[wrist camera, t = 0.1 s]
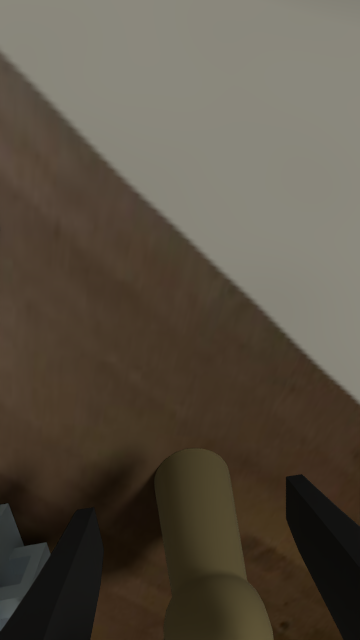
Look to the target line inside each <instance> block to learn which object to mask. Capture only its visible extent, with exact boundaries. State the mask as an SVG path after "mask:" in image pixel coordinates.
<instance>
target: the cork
mask: <svg viewBox="0 0 360 640" xmlns="http://www.w3.org/2000/svg"><path fill="white" fill-rule="evenodd" d="M154 488H155V494H156V500H157V506H158V513H159V519H160V525H161V531H162V537H163V543H164V549H165V555H166V561H167V567H168V573H169V579H170V586H171V592H172V599H171V601H170V603H169V605H168V608H167V610H166V615H165V621H164V640H273V632H272V627H271V624H270V621H269V618H268V615H267V612H266V609H265V606H264V604H263V602H262V600H261V598H260V596H259V594H258V592H257V591H256V590H255V589H254V588H253V587H252V586H251V585H250V583H249V582H247V577H246V571H245V565H244V559H243V553H242V547H241V540H240V534H239V528H238V522H237V516H236V510H235V504H234V498H233V492H232V485H231V479H230V473H229V470H228V467H227V464H226V463H225V462H224V460H223V459H222V458H221V457H220V456H219V455H217V454H215V453H214V452H212V451H210V450H205V449H201V448H193V449H185V450H182V451H179V452H176V453H174V454H172V455H171V456H169V457H168V458H166V459H165V460H164V461H163V463H162V464H161V465H160V466H159V467H158V469H157V472H156V475H155V477H154Z"/></svg>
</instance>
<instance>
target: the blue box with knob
mask: <svg viewBox="0 0 360 640" xmlns="http://www.w3.org/2000/svg"><path fill="white" fill-rule="evenodd" d="M50 555H51V554H50V551H49V548H48V545H47V542H45V543H39V544H34V545H29V546H24V544H23V542H22V539H21V536H20V534H19V531H18V528H17V525H16V523H15V520H14V517H13V515H12V512H11V509H10V507H9V504H8V503H7V504H1V505H0V631H1V630H2V628H3V627H4V625H5V624H6V623H7V621H8V620H9V618H10V617H11V615H12V614H13V612H14V611H15V609H16V608H17V606H18V605H19V603H20V602H21V600H22V599H23V597H24V596H25V594H26V593H27V591H28V590H29V588H30V587H31V585H32V584H33V582H34V581H35V579H36V578H37V576H38V574H39V573H40V571H41V570H42V568H43V566H44V565H45V563H46V561H47V560H48V558H49V557H50Z"/></svg>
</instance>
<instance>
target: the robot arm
mask: <svg viewBox="0 0 360 640" xmlns="http://www.w3.org/2000/svg"><path fill="white" fill-rule="evenodd" d="M286 520H287V522H288V525H289V527H290V530H291V533H292V535H293V538H294V540H295V543H296V545H297V548H298V550H299V552H300V554H301V556H302V558H303V560H304V562H305V564H306V566H307V568H308V570H309V572H310V574H311V576H312V578H313V580H314V582H315V584H316V586H317V588H318V590H319V592H320V594H321V596H322V598H323V600H324V602H325V604H326V606H327V608H328V610H329V611H330V613H331V615H332V617H333V619H334V621H335V623H336V625H337V627H338V629H339V631H340V633H341V635H342V637H343V640H360V526H359V525H357V524H356V523H355V522H354V521H353V520H352V519H351V518H349V517H348V516H347V515H346V514H345V513H344V512H342V511H341V510H340V509H339V508H338V507H337V506H336V505H335V504H334V503H332V502H331V501H330V500H329V499H328V498H327V497H326V496H325V495H324V494H323V493H322V492H320V491H319V490H318V489H317V488H316V487H315V486H314V485H313V484H312V483H311V482H310V481H309V480H308V479H307V478H305V477H304V476H303V475H302V474H300V475H294V476H288V477H286ZM103 553H104V548H103V544H102V539H101V535H100V530H99V526H98V522H97V517H96V513H95V509H94V507H92V508H86V509H80V510H77V511H76V512H75V513H74V515H73V517H72V519H71V520H70V522H69V524H68V526H67V528H66V529H65V531H64V533H63V535H62V536H61V538H60V540H59V542H58V543H57V545H56V547H55V548H54V550H53V552H52V553H51V555H50V557H49V558H48V560H47V561H46V563H45V565H44V566H43V568H42V570H41V571H40V573H39V574H38V576H37V578H36V579H35V581H34V582H33V584H32V585H31V587H30V588H29V590H28V591H27V593H26V594H25V596H24V597H23V599H22V600H21V602H20V603H19V605H18V606H17V608H16V609H15V611H14V612H13V614H12V615H11V617H10V618H9V620H8V621H7V623H6V624H5V625H4V627H3V628H2V630H1V631H0V640H90V638H91V633H92V627H93V622H94V617H95V612H96V606H97V601H98V596H99V590H100V584H101V574H102V564H103Z"/></svg>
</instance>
